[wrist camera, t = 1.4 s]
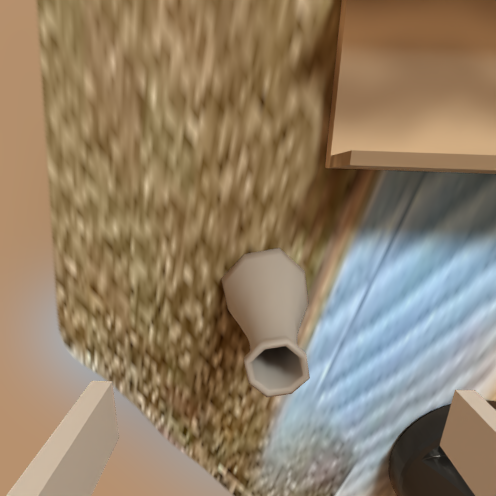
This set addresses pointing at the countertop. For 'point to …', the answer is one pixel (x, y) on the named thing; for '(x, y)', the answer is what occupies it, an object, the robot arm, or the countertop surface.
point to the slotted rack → (415, 86)
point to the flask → (270, 318)
